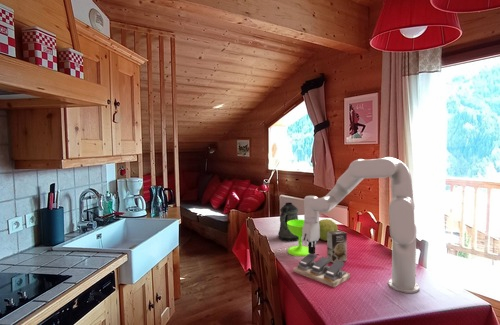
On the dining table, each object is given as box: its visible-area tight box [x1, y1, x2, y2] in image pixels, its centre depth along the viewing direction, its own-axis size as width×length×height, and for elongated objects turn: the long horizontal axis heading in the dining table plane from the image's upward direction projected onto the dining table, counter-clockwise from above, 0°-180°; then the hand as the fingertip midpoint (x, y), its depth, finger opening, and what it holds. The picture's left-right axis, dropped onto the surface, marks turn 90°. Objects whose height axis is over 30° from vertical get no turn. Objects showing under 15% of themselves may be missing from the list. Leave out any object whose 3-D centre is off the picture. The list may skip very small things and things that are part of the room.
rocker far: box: [298, 253, 318, 267], centre depth 154 cm, size 10×4×1 cm, turn 132°
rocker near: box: [325, 260, 345, 278], centre depth 142 cm, size 10×4×1 cm, turn 132°
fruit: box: [319, 218, 339, 241], centre depth 202 cm, size 16×14×15 cm
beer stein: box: [277, 202, 299, 242], centre depth 206 cm, size 16×19×25 cm
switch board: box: [293, 260, 351, 288], centre depth 148 cm, size 14×24×5 cm, turn 42°
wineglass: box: [286, 219, 309, 257], centre depth 180 cm, size 16×16×18 cm
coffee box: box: [326, 230, 348, 264], centre depth 166 cm, size 9×6×16 cm
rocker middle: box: [311, 256, 331, 272], centre depth 148 cm, size 10×4×1 cm, turn 132°
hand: (311, 253), depth 156 cm, fingers closed
